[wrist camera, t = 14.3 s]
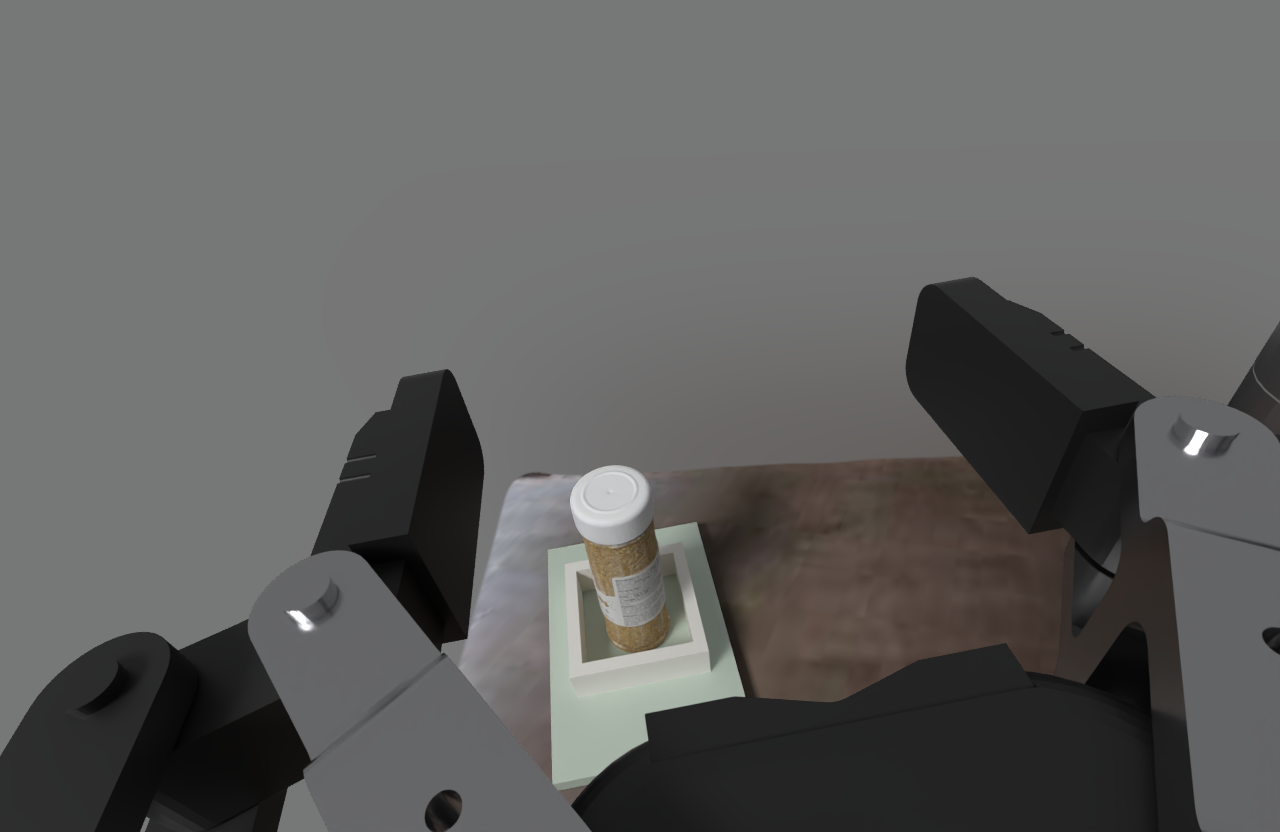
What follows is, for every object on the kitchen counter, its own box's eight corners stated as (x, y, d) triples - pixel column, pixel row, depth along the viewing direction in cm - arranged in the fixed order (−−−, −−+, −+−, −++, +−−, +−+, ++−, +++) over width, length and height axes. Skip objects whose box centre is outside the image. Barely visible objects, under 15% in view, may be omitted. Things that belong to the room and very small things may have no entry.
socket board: (697, 530, 48) (694, 500, 46) (758, 750, 35) (758, 723, 33) (550, 557, 48) (540, 529, 46) (556, 790, 35) (542, 766, 33)
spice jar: (599, 609, 43) (561, 475, 34) (660, 589, 43) (637, 452, 35) (616, 666, 39) (577, 533, 31) (681, 644, 40) (661, 507, 31)
